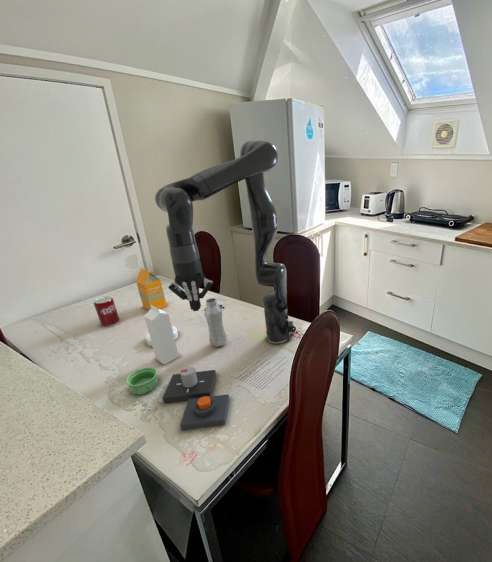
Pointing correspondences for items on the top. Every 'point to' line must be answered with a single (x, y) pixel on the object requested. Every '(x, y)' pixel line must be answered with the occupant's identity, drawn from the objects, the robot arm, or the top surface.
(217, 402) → the button block
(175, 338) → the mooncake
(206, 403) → the power button
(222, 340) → the plastic bottle
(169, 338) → the milk
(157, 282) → the orange juice
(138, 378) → the ramekin
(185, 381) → the brew dial
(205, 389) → the brew base
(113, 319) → the soda can
